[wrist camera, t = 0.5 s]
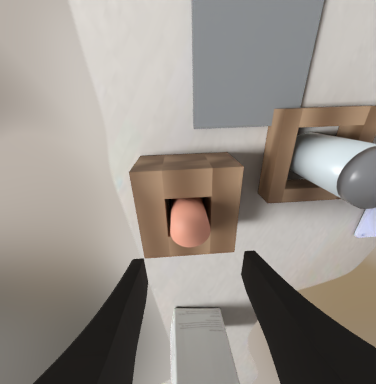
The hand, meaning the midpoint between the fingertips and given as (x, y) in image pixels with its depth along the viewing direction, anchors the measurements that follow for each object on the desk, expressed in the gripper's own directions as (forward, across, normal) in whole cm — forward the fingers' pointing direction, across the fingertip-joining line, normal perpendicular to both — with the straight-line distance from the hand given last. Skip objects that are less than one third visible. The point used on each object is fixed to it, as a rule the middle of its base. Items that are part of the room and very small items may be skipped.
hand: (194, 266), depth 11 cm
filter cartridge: (+10, -13, -4) cm, 17 cm away
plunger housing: (+10, 0, 0) cm, 10 cm away
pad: (+10, -6, -12) cm, 17 cm away
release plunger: (+8, 0, 0) cm, 8 cm away
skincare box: (+11, -1, +24) cm, 26 cm away
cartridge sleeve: (+10, -13, -4) cm, 17 cm away
